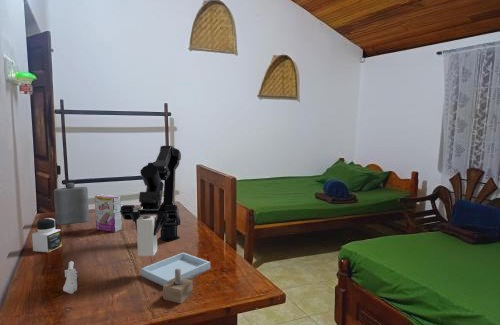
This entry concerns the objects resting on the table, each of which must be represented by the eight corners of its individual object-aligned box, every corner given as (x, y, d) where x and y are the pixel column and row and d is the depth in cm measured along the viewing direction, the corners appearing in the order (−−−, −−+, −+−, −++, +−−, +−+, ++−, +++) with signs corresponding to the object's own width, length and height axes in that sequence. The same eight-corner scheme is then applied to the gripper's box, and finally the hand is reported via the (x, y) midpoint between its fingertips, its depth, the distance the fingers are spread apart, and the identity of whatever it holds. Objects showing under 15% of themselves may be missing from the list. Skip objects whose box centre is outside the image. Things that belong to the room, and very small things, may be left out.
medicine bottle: (48, 252, 129) (46, 222, 128) (32, 251, 131) (30, 221, 129) (62, 246, 136) (60, 217, 135) (47, 245, 137) (45, 216, 136)
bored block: (142, 250, 113) (141, 215, 112) (157, 250, 113) (156, 215, 112) (137, 256, 108) (136, 219, 107) (153, 255, 108) (152, 219, 107)
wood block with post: (175, 289, 100) (175, 264, 100) (192, 293, 98) (192, 267, 97) (163, 299, 95) (162, 272, 94) (181, 303, 93) (180, 276, 92)
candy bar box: (95, 230, 157) (93, 195, 155) (103, 227, 162) (101, 193, 160) (114, 232, 153) (113, 197, 152) (122, 229, 158) (121, 195, 156)
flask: (88, 218, 176) (86, 181, 174) (89, 221, 171) (87, 183, 169) (55, 223, 168) (53, 183, 166) (55, 226, 163) (53, 185, 161)
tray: (183, 258, 124) (183, 252, 123) (210, 269, 115) (210, 262, 115) (140, 275, 110) (140, 268, 109) (167, 288, 101) (167, 280, 101)
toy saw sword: (78, 265, 118) (77, 293, 99) (66, 267, 116) (62, 296, 97) (78, 258, 118) (77, 285, 98) (65, 260, 116) (61, 288, 97)
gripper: (120, 181, 112) (109, 223, 102) (177, 181, 113) (171, 223, 103) (129, 199, 121) (119, 239, 111) (181, 199, 121) (176, 239, 112)
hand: (146, 235), depth 109 cm, fingers closed on bored block, 5 cm apart
